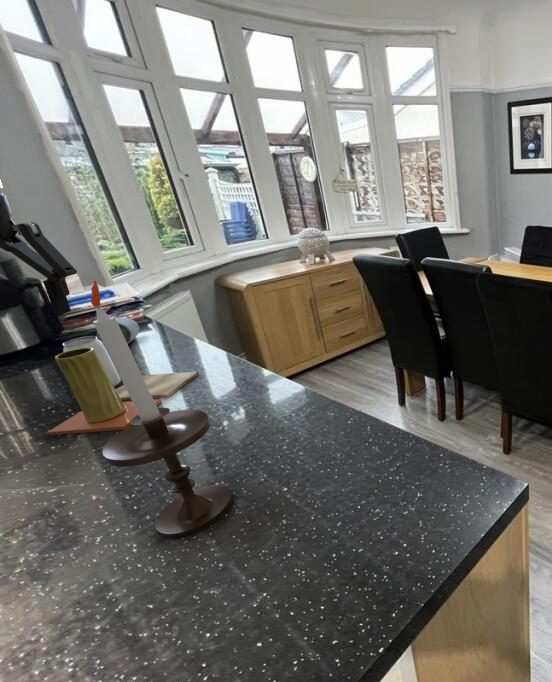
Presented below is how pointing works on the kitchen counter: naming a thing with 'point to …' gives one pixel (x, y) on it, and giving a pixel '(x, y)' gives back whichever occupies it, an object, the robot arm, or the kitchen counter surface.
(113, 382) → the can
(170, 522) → the candlestick
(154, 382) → the birch mat
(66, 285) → the robot arm
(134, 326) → the ceramic mug
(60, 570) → the kitchen counter surface
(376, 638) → the kitchen counter surface
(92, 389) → the vase
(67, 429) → the terracotta mat
